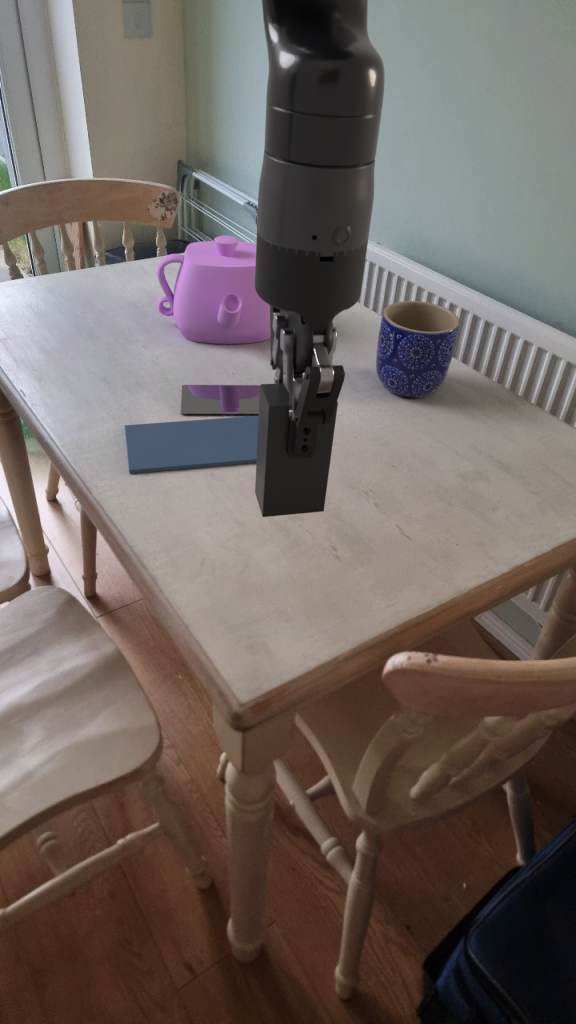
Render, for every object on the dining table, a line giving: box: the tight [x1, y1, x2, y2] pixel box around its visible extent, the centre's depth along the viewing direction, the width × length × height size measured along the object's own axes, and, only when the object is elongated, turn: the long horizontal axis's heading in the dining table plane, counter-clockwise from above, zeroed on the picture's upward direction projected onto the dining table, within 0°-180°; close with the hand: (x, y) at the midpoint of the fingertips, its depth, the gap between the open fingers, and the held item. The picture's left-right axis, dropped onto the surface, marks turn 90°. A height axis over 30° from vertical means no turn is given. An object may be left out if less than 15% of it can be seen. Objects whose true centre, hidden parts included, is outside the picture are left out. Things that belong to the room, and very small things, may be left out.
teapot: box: [156, 235, 271, 345], centre depth 112 cm, size 19×21×14 cm
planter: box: [375, 300, 461, 398], centre depth 101 cm, size 11×11×11 cm
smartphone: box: [180, 384, 261, 416], centre depth 98 cm, size 8×1×16 cm
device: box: [254, 383, 339, 518], centre depth 58 cm, size 6×4×11 cm, turn 103°
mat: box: [124, 415, 259, 475], centre depth 89 cm, size 18×10×1 cm, turn 103°
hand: (294, 440), depth 57 cm, fingers closed on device, 3 cm apart
